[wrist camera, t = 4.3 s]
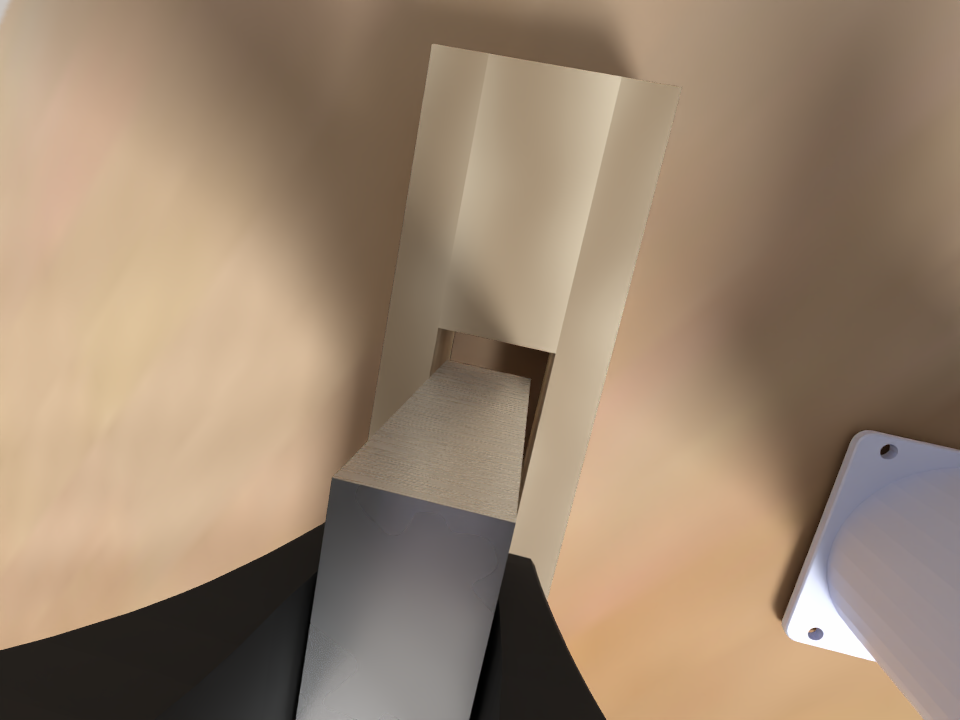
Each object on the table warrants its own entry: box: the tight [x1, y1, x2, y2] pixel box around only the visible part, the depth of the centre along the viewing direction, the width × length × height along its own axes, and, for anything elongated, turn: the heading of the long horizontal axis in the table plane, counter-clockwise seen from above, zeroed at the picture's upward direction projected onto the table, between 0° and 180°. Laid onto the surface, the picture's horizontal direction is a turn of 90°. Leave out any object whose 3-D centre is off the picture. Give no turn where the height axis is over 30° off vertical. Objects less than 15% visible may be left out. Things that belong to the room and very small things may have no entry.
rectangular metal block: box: [296, 360, 531, 720], centre depth 11 cm, size 2×6×8 cm, turn 169°
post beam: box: [368, 43, 682, 600], centre depth 17 cm, size 6×22×4 cm, turn 169°
